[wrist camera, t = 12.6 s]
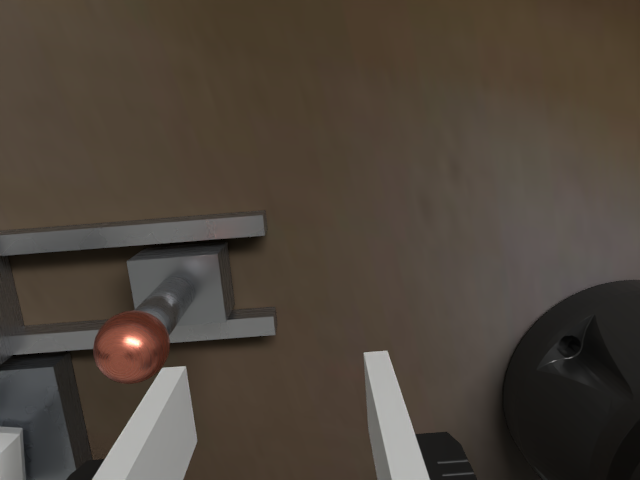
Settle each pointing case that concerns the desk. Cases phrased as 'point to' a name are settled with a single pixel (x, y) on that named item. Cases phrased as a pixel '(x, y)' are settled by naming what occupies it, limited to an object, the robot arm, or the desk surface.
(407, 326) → the desk surface
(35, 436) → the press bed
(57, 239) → the lever guide
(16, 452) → the stamp
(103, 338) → the lever
